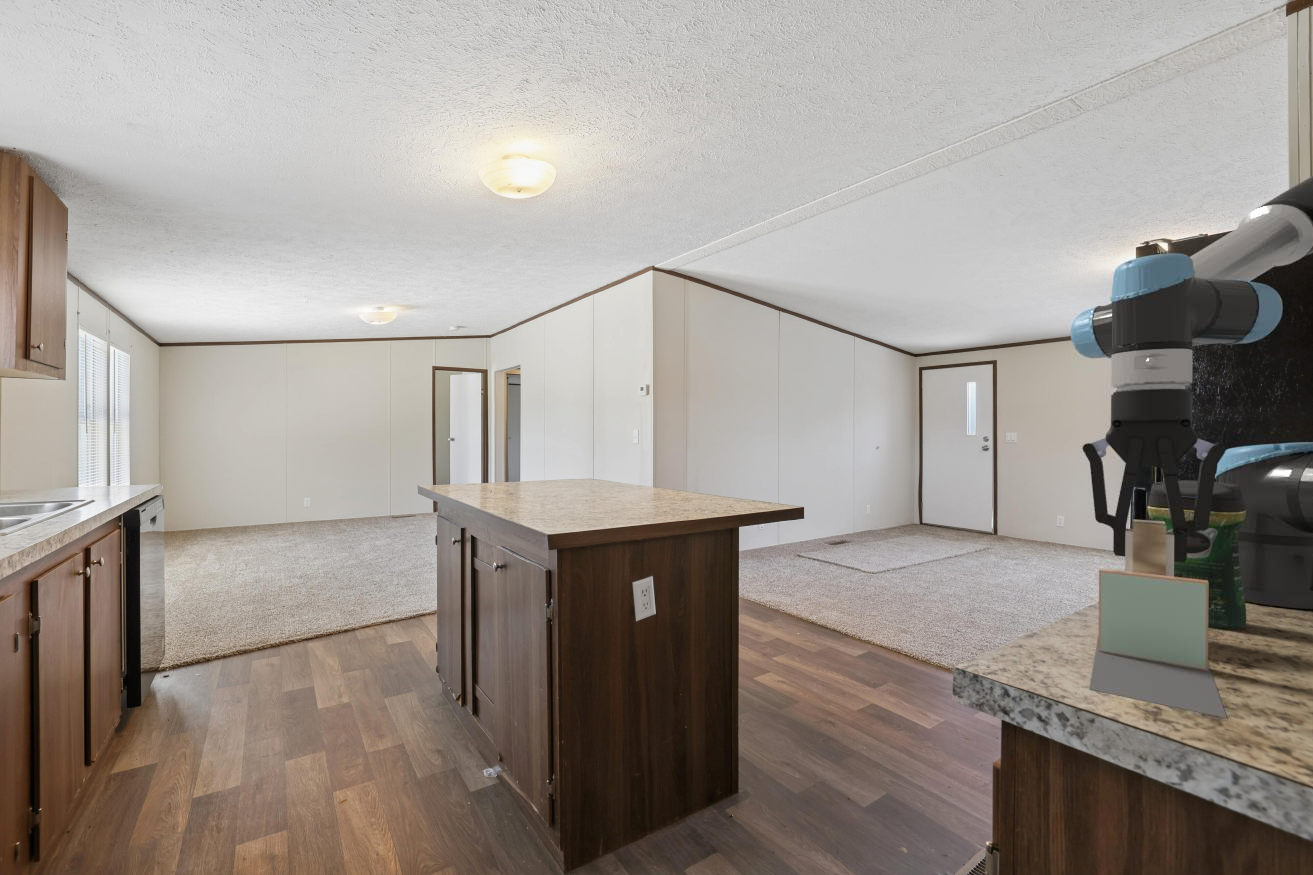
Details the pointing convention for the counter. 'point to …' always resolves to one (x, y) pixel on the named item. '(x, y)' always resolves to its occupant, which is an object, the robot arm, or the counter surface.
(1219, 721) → the counter surface
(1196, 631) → the tile
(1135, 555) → the upright block with backplate
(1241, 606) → the coffee jar
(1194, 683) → the mat
